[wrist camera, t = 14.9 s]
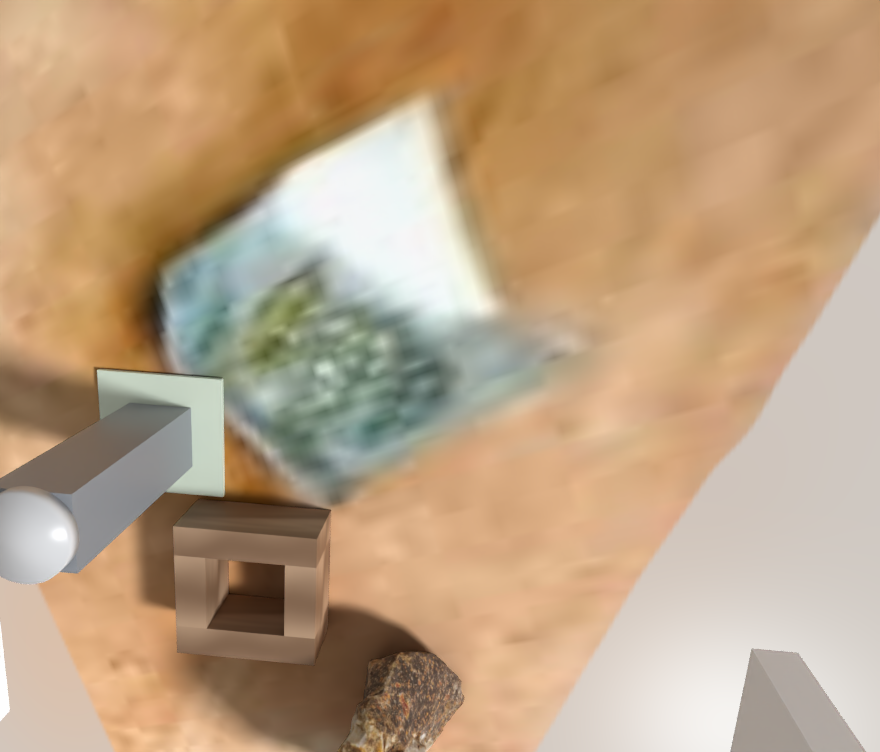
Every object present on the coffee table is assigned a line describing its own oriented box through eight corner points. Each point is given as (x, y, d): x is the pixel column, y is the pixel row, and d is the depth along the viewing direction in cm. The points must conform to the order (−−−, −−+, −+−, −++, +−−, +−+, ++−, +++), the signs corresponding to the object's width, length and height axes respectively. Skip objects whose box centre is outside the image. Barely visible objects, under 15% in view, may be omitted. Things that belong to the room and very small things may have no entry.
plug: (125, 399, 50) (-34, 489, 35) (194, 404, 50) (64, 498, 34) (129, 464, 51) (-24, 579, 36) (195, 469, 51) (71, 588, 36)
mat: (100, 368, 50) (96, 369, 50) (223, 378, 50) (221, 379, 49) (106, 484, 52) (104, 486, 52) (224, 494, 52) (222, 497, 52)
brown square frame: (198, 498, 52) (172, 526, 48) (331, 510, 52) (316, 539, 47) (201, 616, 55) (177, 652, 50) (327, 628, 54) (314, 665, 50)
